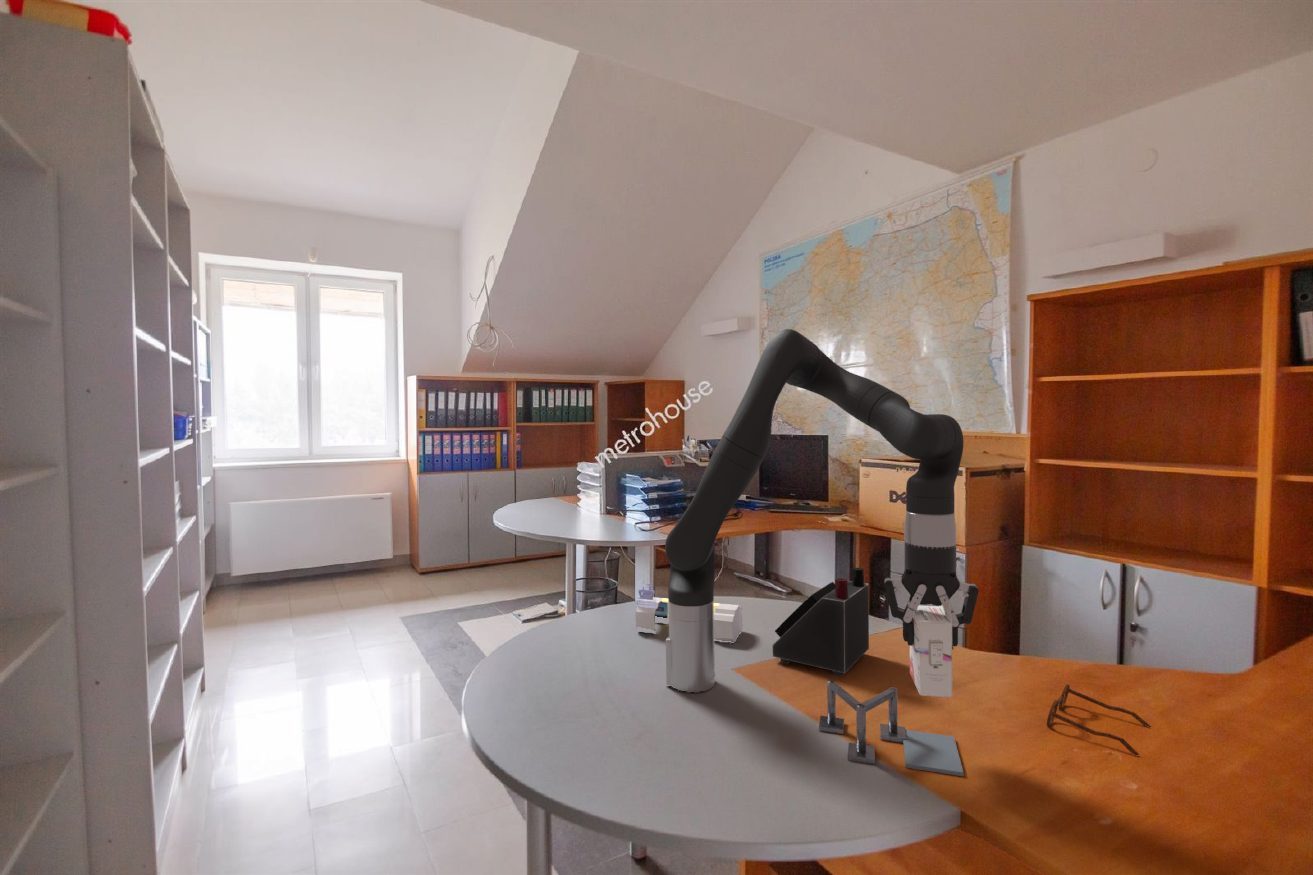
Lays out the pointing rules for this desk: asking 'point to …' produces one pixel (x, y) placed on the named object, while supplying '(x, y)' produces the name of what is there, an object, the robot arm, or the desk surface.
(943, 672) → the ink cartridge box
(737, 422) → the robot arm
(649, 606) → the diorama
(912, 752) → the pad
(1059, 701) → the glasses
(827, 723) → the grey metal legged frame
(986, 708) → the desk surface
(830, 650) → the voltmeter
